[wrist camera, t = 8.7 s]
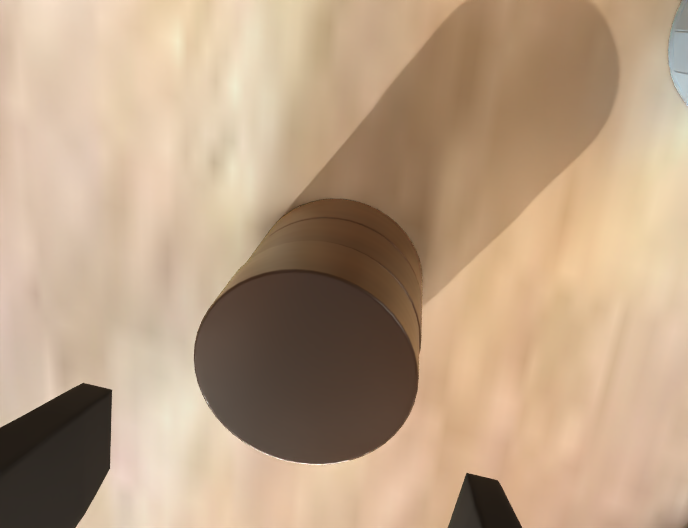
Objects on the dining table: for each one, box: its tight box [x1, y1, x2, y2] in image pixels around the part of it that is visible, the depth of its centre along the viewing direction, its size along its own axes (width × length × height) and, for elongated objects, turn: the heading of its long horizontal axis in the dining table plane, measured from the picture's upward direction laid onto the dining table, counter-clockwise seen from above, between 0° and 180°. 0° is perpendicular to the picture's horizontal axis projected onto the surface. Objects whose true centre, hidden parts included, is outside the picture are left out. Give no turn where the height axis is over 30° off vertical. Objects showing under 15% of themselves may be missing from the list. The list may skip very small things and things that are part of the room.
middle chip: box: [248, 218, 422, 353], centre depth 17 cm, size 6×6×2 cm
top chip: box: [194, 241, 419, 465], centre depth 15 cm, size 6×6×2 cm
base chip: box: [257, 199, 422, 302], centre depth 19 cm, size 6×6×2 cm
